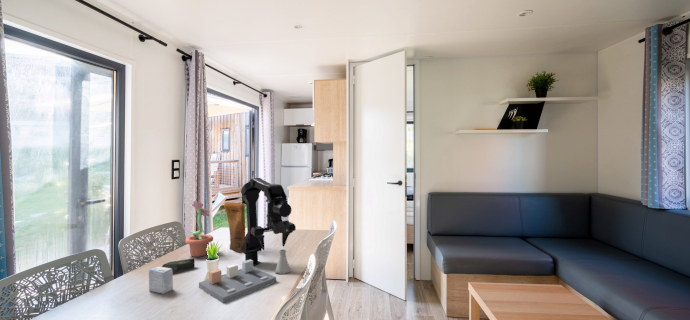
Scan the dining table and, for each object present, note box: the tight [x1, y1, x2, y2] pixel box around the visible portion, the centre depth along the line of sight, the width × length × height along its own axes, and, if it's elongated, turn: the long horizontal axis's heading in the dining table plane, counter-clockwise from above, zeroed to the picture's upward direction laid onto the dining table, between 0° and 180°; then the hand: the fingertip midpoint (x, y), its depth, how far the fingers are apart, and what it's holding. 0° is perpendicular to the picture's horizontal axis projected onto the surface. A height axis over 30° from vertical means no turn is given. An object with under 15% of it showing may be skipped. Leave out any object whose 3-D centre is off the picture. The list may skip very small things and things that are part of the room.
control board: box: [198, 266, 277, 304], centre depth 123 cm, size 20×24×3 cm
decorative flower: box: [185, 200, 214, 258], centre depth 159 cm, size 15×14×30 cm
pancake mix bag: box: [223, 201, 246, 254], centre depth 167 cm, size 7×19×28 cm, turn 49°
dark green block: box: [161, 257, 196, 274], centre depth 136 cm, size 5×3×15 cm
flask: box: [274, 249, 291, 275], centre depth 137 cm, size 7×7×10 cm
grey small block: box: [241, 259, 254, 273], centre depth 131 cm, size 2×4×4 cm, turn 140°
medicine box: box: [148, 266, 174, 295], centre depth 117 cm, size 8×4×9 cm, turn 71°
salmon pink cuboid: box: [208, 268, 222, 284], centre depth 120 cm, size 2×4×4 cm, turn 140°
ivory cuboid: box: [226, 263, 239, 278], centre depth 126 cm, size 2×4×4 cm, turn 140°
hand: (273, 248), depth 129 cm, fingers open, 9 cm apart
